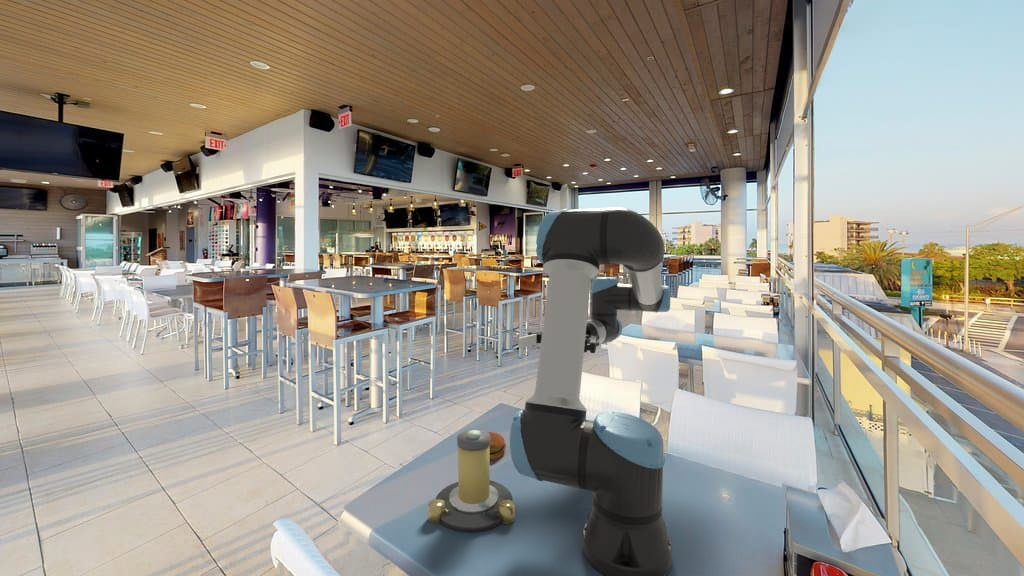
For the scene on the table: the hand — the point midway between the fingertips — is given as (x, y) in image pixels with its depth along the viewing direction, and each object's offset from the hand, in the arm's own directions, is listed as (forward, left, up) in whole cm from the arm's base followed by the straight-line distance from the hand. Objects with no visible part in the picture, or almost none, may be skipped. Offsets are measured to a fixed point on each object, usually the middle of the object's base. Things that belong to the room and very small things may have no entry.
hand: (541, 347), depth 100 cm
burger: (+13, +8, -30) cm, 34 cm away
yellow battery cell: (-7, +21, -28) cm, 35 cm away
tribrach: (-7, +21, -30) cm, 37 cm away
